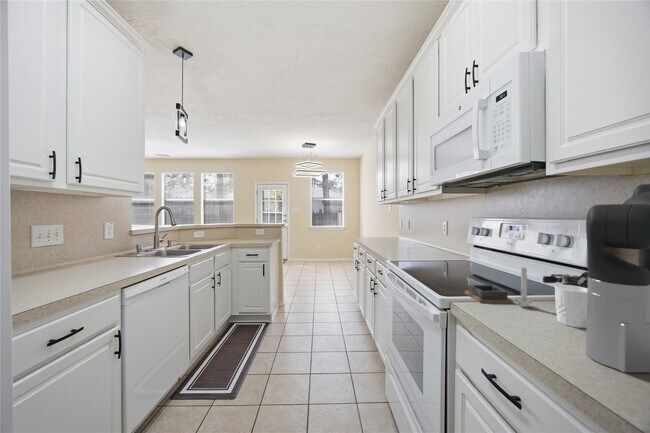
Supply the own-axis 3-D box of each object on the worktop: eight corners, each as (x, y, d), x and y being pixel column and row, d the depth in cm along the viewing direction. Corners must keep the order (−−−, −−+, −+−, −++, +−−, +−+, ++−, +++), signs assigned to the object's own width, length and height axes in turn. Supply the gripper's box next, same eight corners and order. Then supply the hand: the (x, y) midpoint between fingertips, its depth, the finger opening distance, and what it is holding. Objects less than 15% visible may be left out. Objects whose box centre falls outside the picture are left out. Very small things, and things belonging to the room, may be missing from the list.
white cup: (598, 330, 75) (599, 293, 75) (564, 327, 77) (565, 291, 76) (578, 319, 83) (579, 285, 83) (548, 317, 84) (548, 283, 84)
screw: (513, 303, 97) (531, 305, 95) (515, 307, 93) (533, 309, 91) (514, 265, 97) (531, 266, 95) (516, 268, 92) (534, 269, 90)
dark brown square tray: (512, 302, 97) (512, 292, 97) (480, 302, 97) (480, 292, 97) (493, 293, 108) (493, 284, 108) (464, 293, 108) (464, 284, 108)
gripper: (583, 267, 100) (537, 267, 100) (625, 276, 86) (572, 276, 86) (583, 288, 100) (537, 288, 101) (625, 301, 86) (571, 300, 86)
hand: (553, 282), depth 93 cm, fingers open, 8 cm apart
